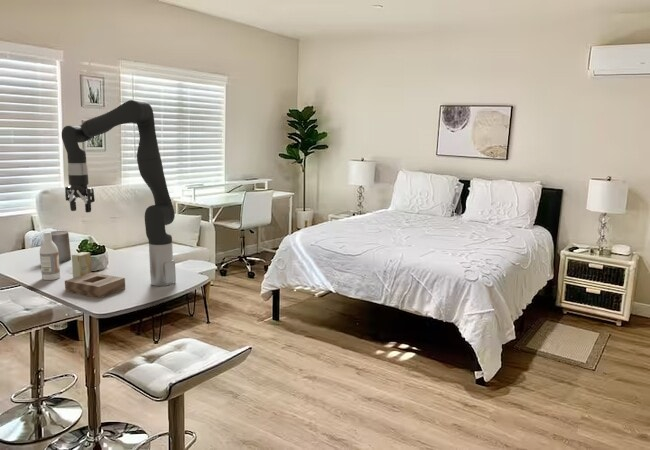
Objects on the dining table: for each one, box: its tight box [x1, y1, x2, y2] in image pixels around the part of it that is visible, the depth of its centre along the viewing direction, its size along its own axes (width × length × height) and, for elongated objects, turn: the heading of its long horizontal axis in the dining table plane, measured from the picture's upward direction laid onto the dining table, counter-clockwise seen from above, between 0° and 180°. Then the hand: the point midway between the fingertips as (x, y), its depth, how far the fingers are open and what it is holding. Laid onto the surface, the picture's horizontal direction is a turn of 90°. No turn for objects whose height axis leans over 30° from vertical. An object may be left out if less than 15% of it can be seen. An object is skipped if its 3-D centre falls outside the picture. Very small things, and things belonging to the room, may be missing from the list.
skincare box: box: [71, 251, 92, 278], centre depth 212 cm, size 6×4×12 cm
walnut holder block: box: [64, 272, 126, 299], centre depth 202 cm, size 18×13×4 cm
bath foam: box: [39, 231, 61, 281], centre depth 216 cm, size 7×7×20 cm
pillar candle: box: [50, 230, 72, 263], centre depth 246 cm, size 10×10×15 cm
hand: (80, 211), depth 218 cm, fingers open, 8 cm apart
